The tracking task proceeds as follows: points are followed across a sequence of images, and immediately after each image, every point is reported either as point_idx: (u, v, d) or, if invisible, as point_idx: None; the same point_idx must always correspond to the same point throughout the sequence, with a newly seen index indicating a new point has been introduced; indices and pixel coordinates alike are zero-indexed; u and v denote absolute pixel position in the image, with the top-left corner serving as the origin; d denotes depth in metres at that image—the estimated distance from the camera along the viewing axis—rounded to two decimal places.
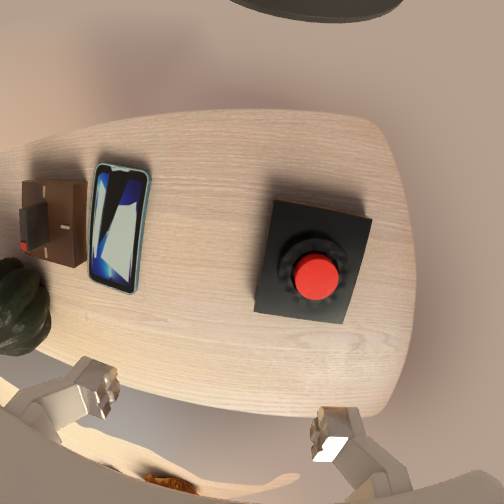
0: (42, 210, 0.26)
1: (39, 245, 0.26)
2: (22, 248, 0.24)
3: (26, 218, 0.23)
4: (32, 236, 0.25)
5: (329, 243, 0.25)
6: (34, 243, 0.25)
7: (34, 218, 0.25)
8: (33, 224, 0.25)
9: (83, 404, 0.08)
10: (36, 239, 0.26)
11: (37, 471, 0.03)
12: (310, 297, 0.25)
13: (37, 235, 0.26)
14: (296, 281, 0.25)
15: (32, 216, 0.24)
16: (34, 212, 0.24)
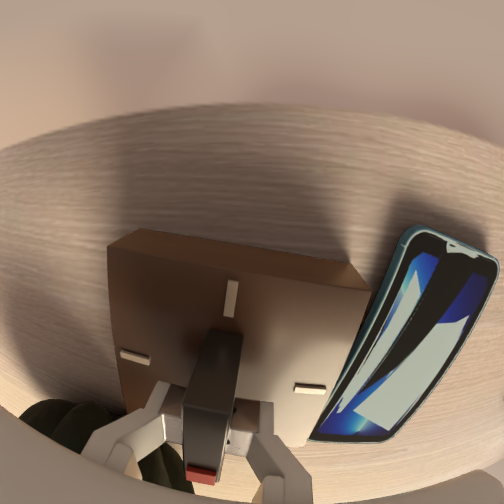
0: None
1: None
2: (195, 480, 0.08)
3: None
4: None
5: None
6: None
7: None
8: None
9: (164, 433, 0.08)
10: None
11: (37, 471, 0.03)
12: None
13: None
14: None
15: None
16: None
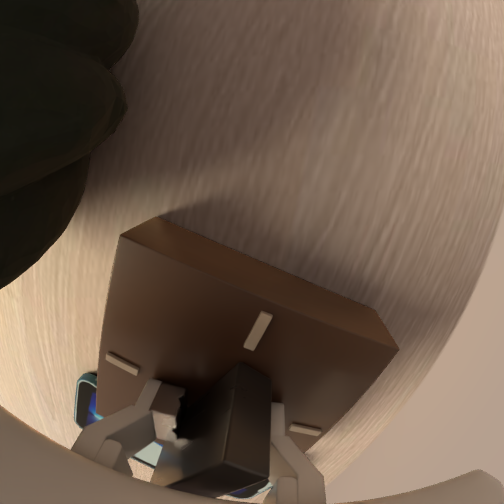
0: None
1: None
2: None
3: (247, 485, 0.06)
4: None
5: None
6: None
7: None
8: None
9: (154, 430, 0.08)
10: None
11: (37, 471, 0.03)
12: None
13: None
14: None
15: None
16: None
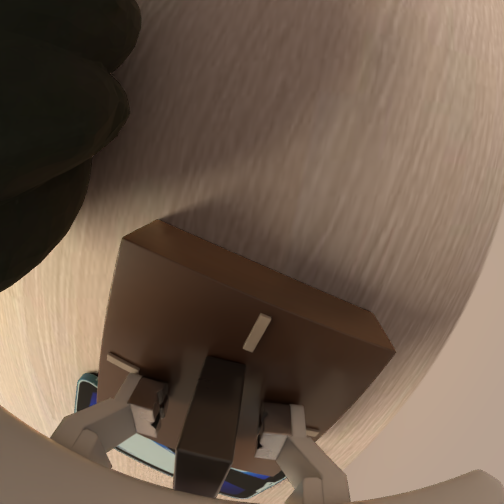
0: None
1: None
2: None
3: None
4: None
5: None
6: None
7: None
8: None
9: (134, 424, 0.08)
10: None
11: (37, 471, 0.03)
12: None
13: None
14: None
15: None
16: None
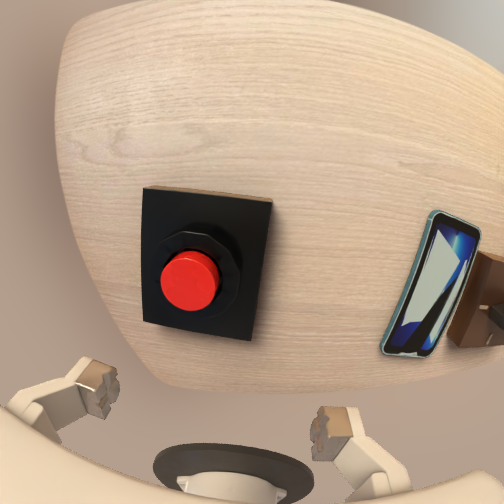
0: None
1: (498, 325, 0.19)
2: None
3: None
4: None
5: (182, 314, 0.21)
6: None
7: None
8: None
9: (83, 404, 0.08)
10: None
11: (37, 471, 0.03)
12: (191, 262, 0.19)
13: None
14: (213, 284, 0.19)
15: None
16: None
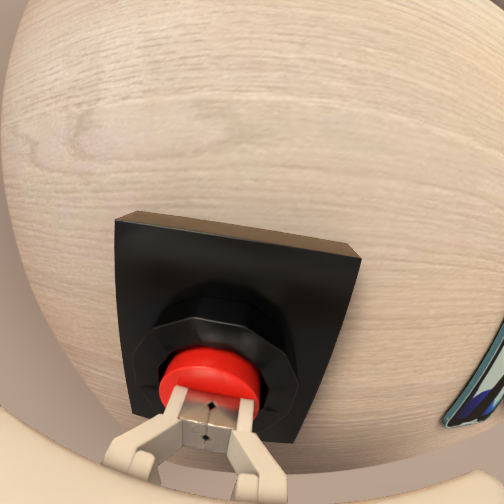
0: None
1: None
2: None
3: None
4: None
5: None
6: None
7: None
8: None
9: (182, 438, 0.08)
10: None
11: (37, 471, 0.03)
12: (216, 374, 0.09)
13: None
14: (255, 405, 0.10)
15: None
16: None
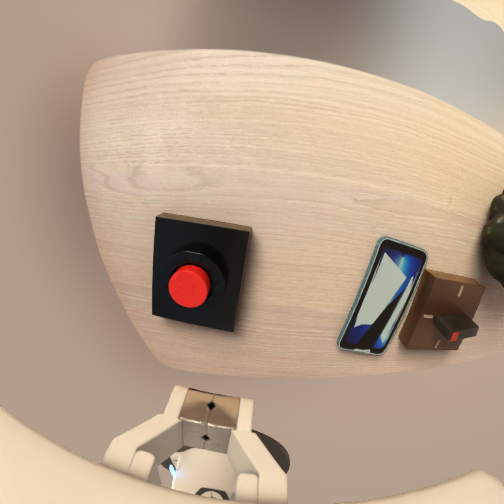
0: None
1: (441, 332, 0.27)
2: (453, 336, 0.25)
3: (470, 336, 0.25)
4: None
5: (183, 309, 0.29)
6: None
7: None
8: None
9: (182, 438, 0.08)
10: None
11: (37, 471, 0.03)
12: (191, 273, 0.26)
13: None
14: (205, 289, 0.27)
15: None
16: None
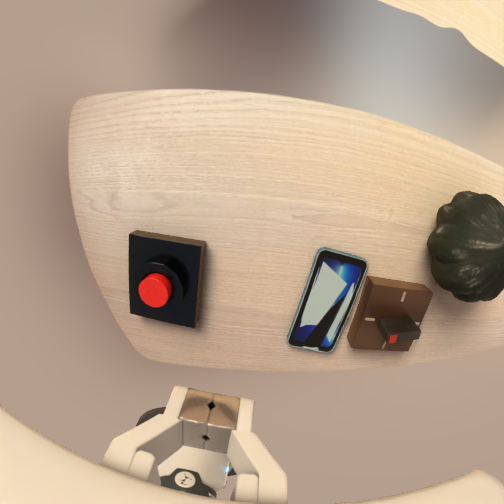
0: None
1: None
2: (391, 338, 0.31)
3: (412, 339, 0.31)
4: None
5: (152, 309, 0.35)
6: None
7: None
8: None
9: (182, 438, 0.08)
10: None
11: (37, 471, 0.03)
12: (154, 280, 0.32)
13: None
14: (166, 292, 0.33)
15: None
16: None
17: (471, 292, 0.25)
